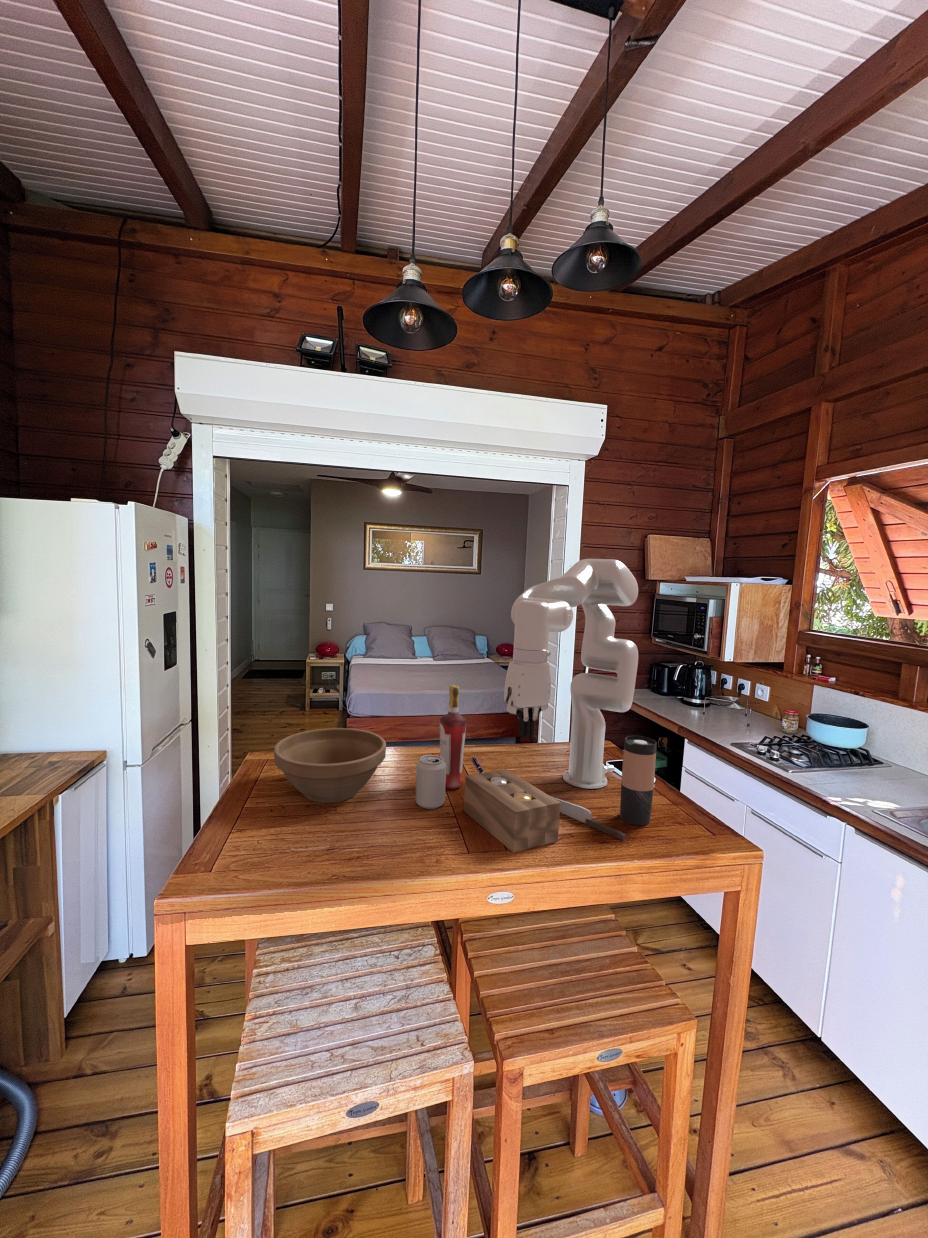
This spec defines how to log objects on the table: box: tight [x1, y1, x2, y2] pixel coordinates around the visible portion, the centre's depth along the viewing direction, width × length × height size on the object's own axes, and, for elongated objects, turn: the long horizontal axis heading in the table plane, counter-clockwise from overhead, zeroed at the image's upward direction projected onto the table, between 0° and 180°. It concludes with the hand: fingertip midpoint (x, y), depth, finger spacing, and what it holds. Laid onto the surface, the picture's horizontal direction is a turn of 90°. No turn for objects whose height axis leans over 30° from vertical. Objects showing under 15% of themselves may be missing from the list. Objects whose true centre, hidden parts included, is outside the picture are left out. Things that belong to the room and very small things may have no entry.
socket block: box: [463, 768, 561, 854], centre depth 127 cm, size 12×22×9 cm, turn 29°
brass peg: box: [514, 792, 531, 802], centre depth 123 cm, size 4×4×8 cm
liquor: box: [439, 685, 467, 790], centre depth 148 cm, size 7×7×28 cm
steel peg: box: [491, 777, 507, 786], centre depth 131 cm, size 4×4×8 cm
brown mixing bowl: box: [273, 727, 387, 804], centre depth 141 cm, size 28×28×13 cm
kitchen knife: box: [549, 795, 627, 841], centre depth 134 cm, size 4×1×30 cm
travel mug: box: [619, 735, 657, 826], centre depth 133 cm, size 8×8×20 cm
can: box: [415, 754, 446, 810], centre depth 137 cm, size 8×8×12 cm
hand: (526, 736), depth 121 cm, fingers closed
